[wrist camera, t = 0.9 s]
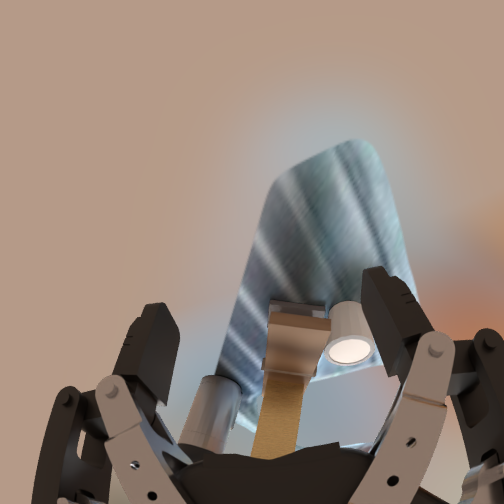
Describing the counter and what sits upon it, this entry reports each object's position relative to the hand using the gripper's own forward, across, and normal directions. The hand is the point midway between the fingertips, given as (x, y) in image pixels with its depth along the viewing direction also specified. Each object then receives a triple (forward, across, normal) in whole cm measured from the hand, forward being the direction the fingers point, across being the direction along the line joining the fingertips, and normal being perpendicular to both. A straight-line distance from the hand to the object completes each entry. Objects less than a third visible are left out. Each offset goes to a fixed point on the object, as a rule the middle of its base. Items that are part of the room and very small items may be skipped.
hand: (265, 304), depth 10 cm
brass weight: (+11, -1, -27) cm, 30 cm away
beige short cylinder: (+19, +9, -23) cm, 31 cm away
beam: (+11, 0, -22) cm, 25 cm away
